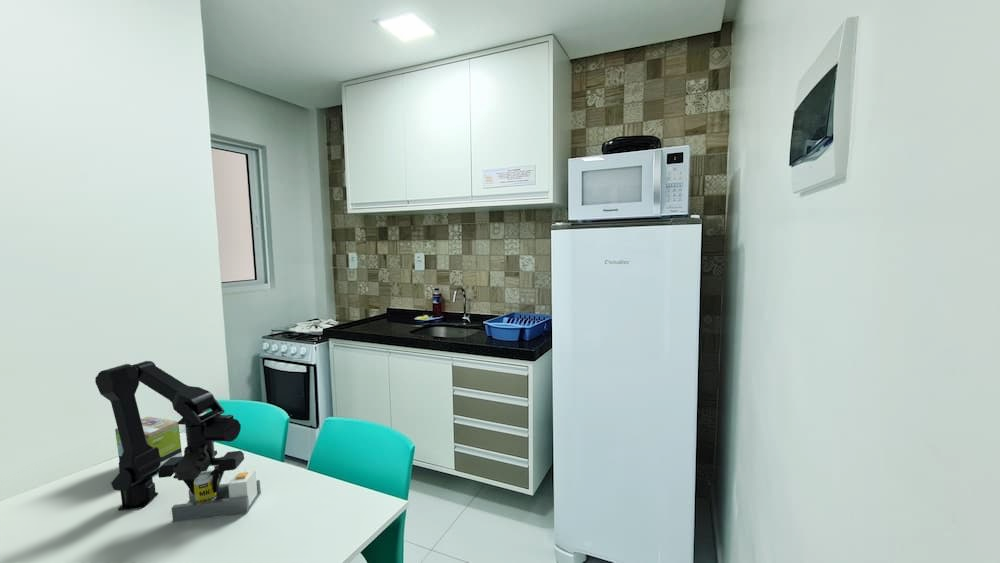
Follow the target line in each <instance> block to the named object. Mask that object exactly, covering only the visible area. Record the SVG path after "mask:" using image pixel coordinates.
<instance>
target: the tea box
mask: <svg viewBox="0 0 1000 563" xmlns="http://www.w3.org/2000/svg"><path fill="white" fill-rule="evenodd" d="M141 422H142V426H143V430H144V434H145V438H146V442H147V444H149V445H150V446H152V447H153V448H155V447H157V448H158V449H159V454H160V457H161V458H162V460H160V461H161V464H160V466H161V465H163V464H164V463H165V462H166V461H167V460H169V459H170V458H171V457H182V456H183V451H182V443H181V435H180V434H181V433H180V426H179V425H180V424H178V422H179V421H177V420H170V419H166V418H164V419H163V418H158V417H152V416H145V417H143V418H141ZM115 437H116V438H115V441H116V446H117V454H118V460H119V461H120V459H121V457H122V454H123V447H122V443H121V439H120V435H119V431H118V428H115ZM119 461H118V462H119ZM160 466H159V467H160ZM156 476H158V474H156V475H154V476H152V478H154V477H156Z"/></svg>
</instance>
